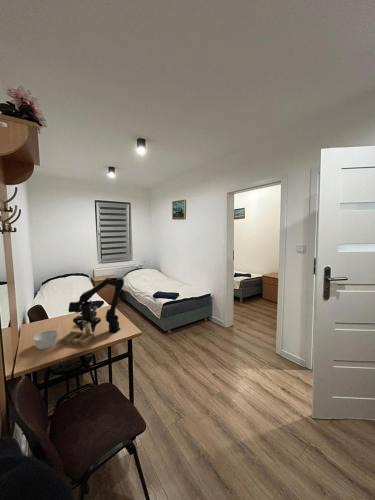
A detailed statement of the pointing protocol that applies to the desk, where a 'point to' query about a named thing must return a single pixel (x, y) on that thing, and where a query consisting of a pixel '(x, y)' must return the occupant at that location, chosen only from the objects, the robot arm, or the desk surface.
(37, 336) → the ramekin
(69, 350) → the desk surface
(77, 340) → the board
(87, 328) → the peg
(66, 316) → the desk surface
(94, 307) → the mortar and pestle
